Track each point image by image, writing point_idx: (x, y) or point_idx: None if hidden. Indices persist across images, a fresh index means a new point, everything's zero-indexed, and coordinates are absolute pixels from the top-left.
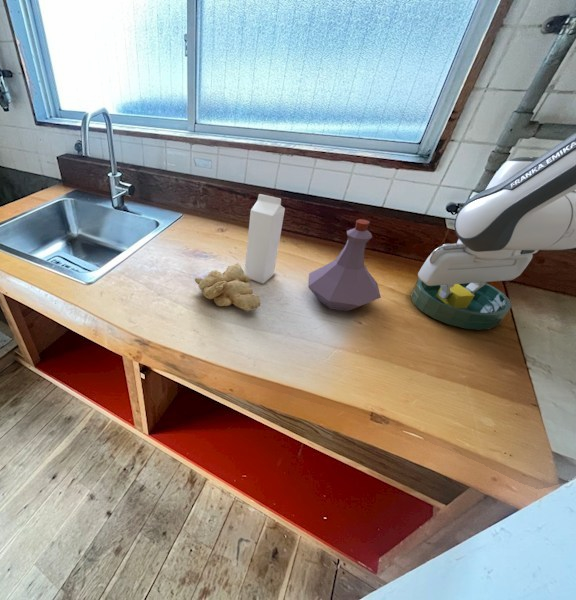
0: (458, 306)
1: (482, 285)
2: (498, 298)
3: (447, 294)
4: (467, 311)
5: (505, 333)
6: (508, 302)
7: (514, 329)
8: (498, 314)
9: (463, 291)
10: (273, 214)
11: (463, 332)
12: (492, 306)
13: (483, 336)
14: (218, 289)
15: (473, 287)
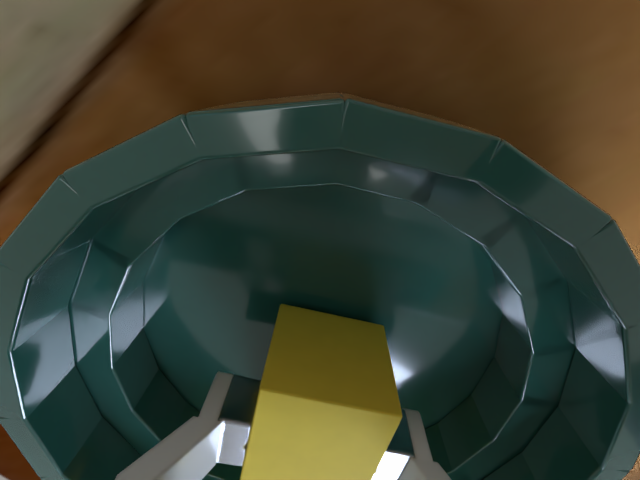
0: (346, 328)
1: (138, 474)
2: (51, 301)
3: (423, 447)
4: (609, 261)
5: (242, 23)
6: (44, 226)
7: (133, 36)
8: (363, 105)
9: (297, 442)
10: None
11: (511, 142)
12: (143, 255)
13: (432, 56)
14: None
15: (197, 458)
